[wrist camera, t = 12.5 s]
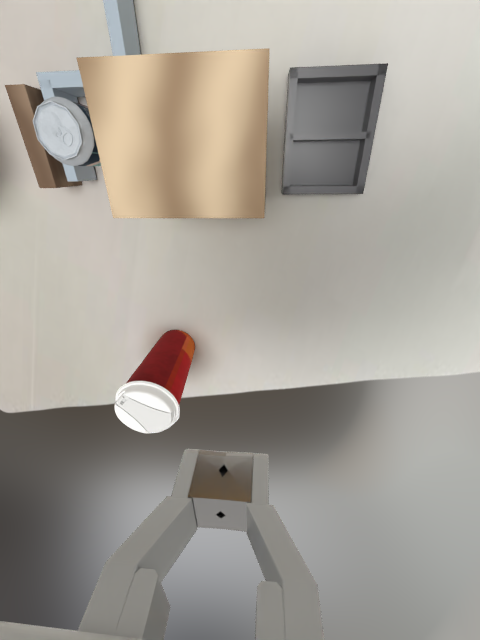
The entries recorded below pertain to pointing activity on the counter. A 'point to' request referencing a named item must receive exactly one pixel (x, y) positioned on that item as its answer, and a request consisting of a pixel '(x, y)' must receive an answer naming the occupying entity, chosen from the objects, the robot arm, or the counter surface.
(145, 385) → the coffee cup
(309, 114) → the tray
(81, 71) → the tunnel
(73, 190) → the counter surface
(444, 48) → the counter surface
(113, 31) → the blue grey drawer
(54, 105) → the beer can
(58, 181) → the end stop
